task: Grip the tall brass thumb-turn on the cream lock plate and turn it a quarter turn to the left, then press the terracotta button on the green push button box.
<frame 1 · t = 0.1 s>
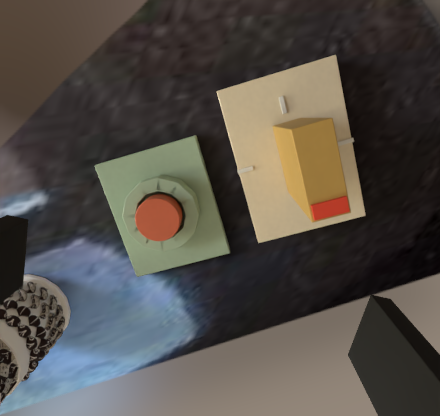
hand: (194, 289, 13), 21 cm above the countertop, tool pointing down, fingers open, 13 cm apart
green push button box: (166, 207, 34), on the countertop
thumbturn: (306, 163, 25), point 8 cm above the countertop, hinge at 0.0°
bell button: (159, 217, 30), point 3 cm above the countertop, slide at 0.1 cm
lock plate: (288, 152, 32), on the countertop
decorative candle: (34, 307, 37), on the countertop
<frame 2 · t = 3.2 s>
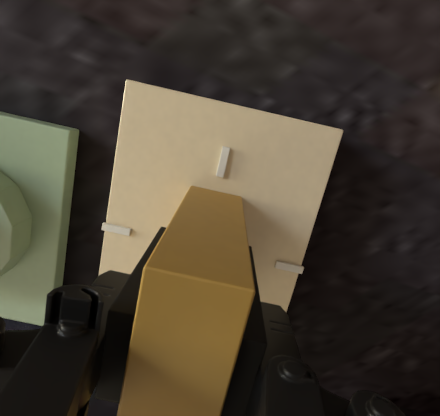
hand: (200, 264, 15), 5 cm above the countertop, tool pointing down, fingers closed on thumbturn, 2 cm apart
thumbturn: (193, 295, 12), point 8 cm above the countertop, hinge at 0.0°, touching gripper
lock plate: (207, 228, 20), on the countertop
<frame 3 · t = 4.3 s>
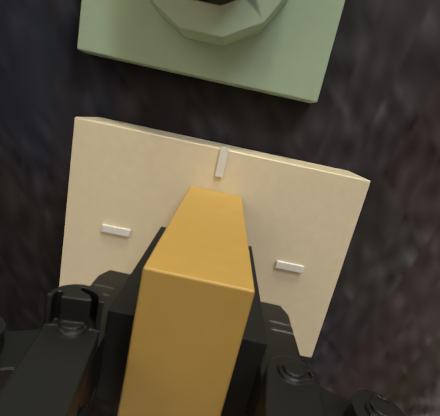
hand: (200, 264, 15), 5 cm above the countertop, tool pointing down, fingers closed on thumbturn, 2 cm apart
thumbturn: (193, 296, 12), point 8 cm above the countertop, hinge at 89.4°, touching gripper
lock plate: (207, 228, 20), on the countertop
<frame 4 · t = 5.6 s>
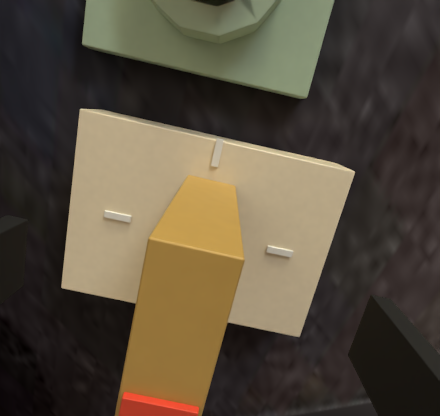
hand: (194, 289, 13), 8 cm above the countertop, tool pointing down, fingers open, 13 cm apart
thumbturn: (190, 273, 13), point 8 cm above the countertop, hinge at 89.4°
lock plate: (203, 216, 21), on the countertop
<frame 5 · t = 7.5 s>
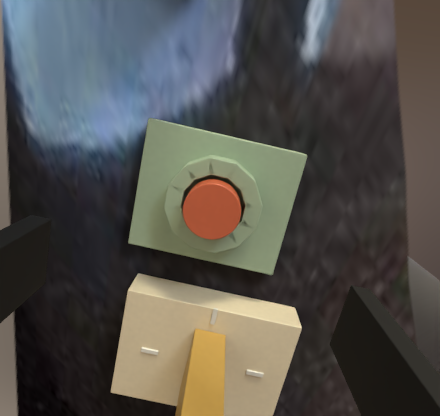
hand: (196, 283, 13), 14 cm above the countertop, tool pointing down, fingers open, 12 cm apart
green push button box: (214, 197, 27), on the countertop
thumbturn: (196, 409, 23), point 8 cm above the countertop, hinge at 89.4°
bell button: (212, 209, 24), point 3 cm above the countertop, slide at 0.1 cm
lock plate: (205, 338, 30), on the countertop
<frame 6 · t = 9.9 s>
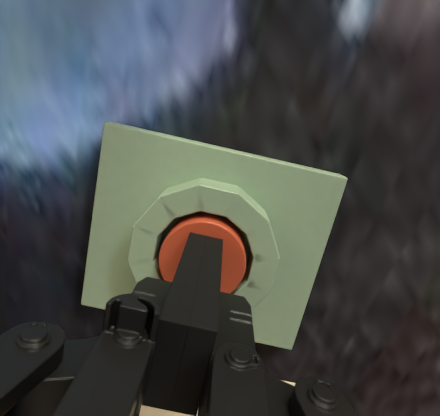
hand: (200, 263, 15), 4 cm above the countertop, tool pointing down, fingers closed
green push button box: (207, 237, 18), on the countertop
bell button: (203, 255, 16), point 3 cm above the countertop, slide at -0.9 cm, touching gripper
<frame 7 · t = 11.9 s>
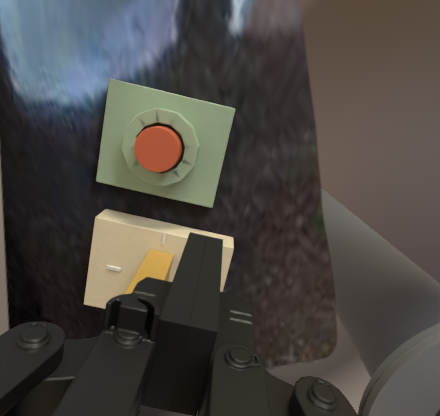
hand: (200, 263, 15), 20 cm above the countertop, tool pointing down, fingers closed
green push button box: (165, 145, 34), on the countertop
thumbturn: (145, 302, 30), point 8 cm above the countertop, hinge at 89.4°
bell button: (158, 149, 30), point 3 cm above the countertop, slide at 0.1 cm
lock plate: (161, 264, 37), on the countertop
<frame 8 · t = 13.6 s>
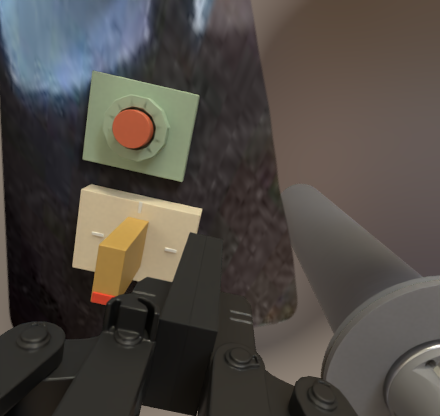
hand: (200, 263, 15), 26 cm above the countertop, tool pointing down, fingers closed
green push button box: (141, 128, 39), on the countertop
thumbturn: (122, 257, 35), point 8 cm above the countertop, hinge at 89.4°
bell button: (133, 129, 36), point 3 cm above the countertop, slide at 0.1 cm
lock plate: (140, 233, 43), on the countertop
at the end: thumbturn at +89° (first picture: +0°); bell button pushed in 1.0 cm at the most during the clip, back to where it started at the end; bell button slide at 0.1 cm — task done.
